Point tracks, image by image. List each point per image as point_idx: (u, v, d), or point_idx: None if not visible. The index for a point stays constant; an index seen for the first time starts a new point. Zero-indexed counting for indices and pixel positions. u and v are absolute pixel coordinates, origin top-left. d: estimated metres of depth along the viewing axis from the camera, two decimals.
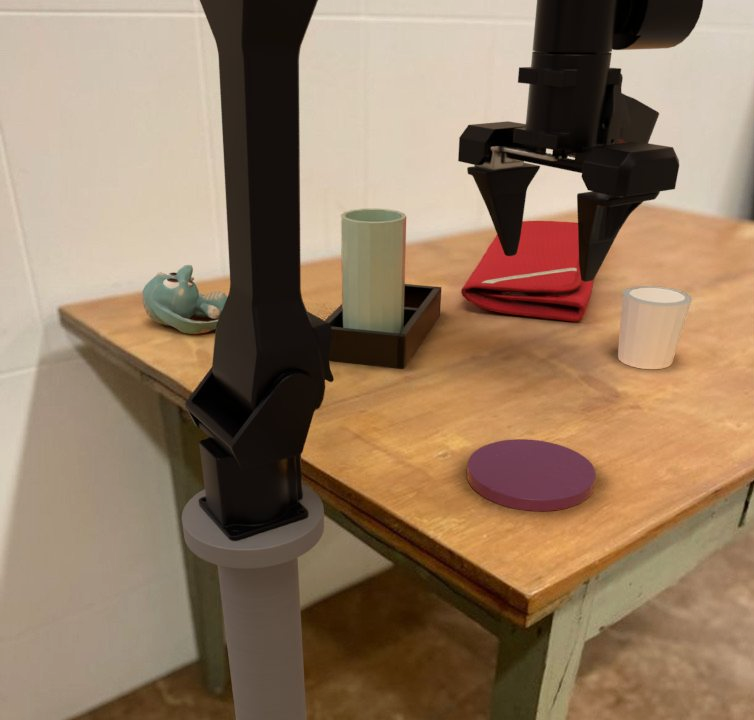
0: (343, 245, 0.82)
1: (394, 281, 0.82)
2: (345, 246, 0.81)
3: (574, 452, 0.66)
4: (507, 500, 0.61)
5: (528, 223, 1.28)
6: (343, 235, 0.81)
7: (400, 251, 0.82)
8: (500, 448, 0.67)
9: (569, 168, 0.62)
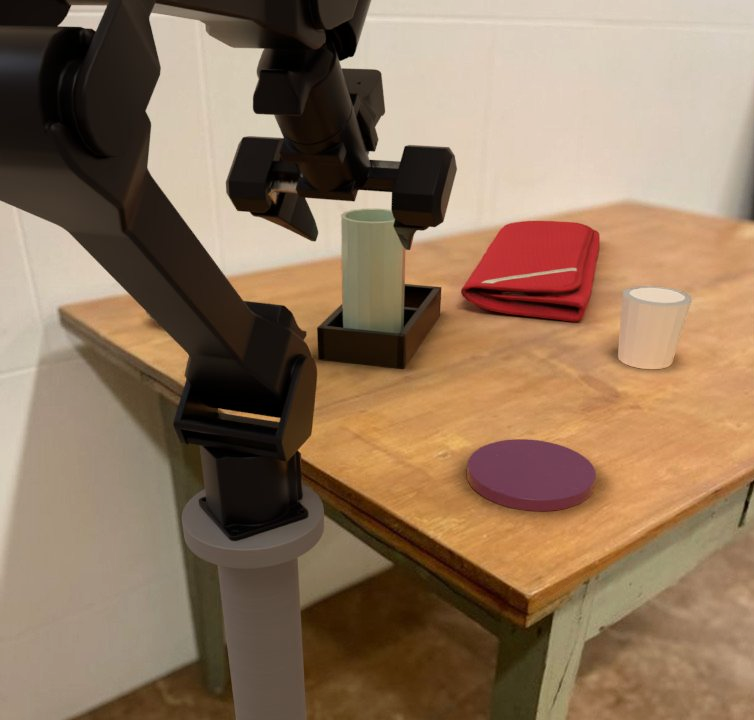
0: (343, 245, 0.82)
1: (394, 281, 0.82)
2: (345, 246, 0.81)
3: (574, 452, 0.66)
4: (507, 500, 0.61)
5: (528, 223, 1.28)
6: (343, 235, 0.81)
7: (400, 251, 0.82)
8: (500, 448, 0.67)
9: None
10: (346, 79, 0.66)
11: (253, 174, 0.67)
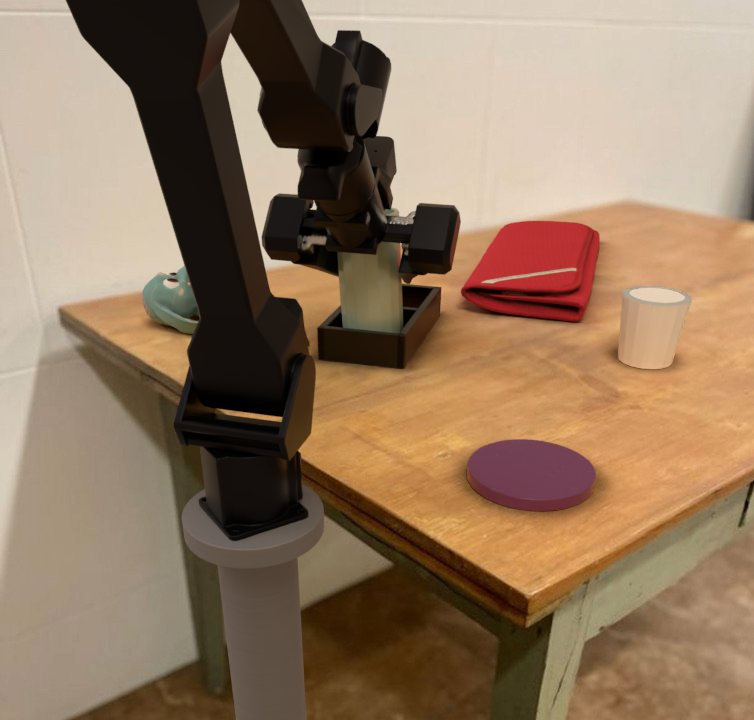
0: None
1: (389, 276, 0.82)
2: None
3: (574, 452, 0.66)
4: (507, 500, 0.61)
5: (528, 223, 1.28)
6: None
7: (394, 246, 0.82)
8: (500, 448, 0.67)
9: None
10: None
11: (286, 230, 0.78)
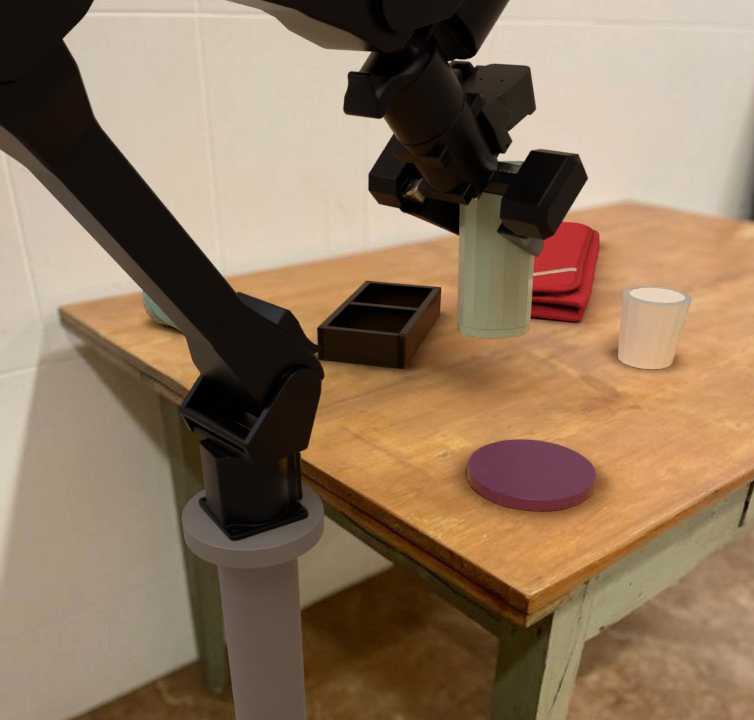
0: None
1: (506, 241, 0.67)
2: None
3: (574, 452, 0.66)
4: (507, 500, 0.61)
5: None
6: None
7: None
8: (500, 448, 0.67)
9: (483, 190, 0.64)
10: (493, 76, 0.63)
11: (390, 169, 0.68)
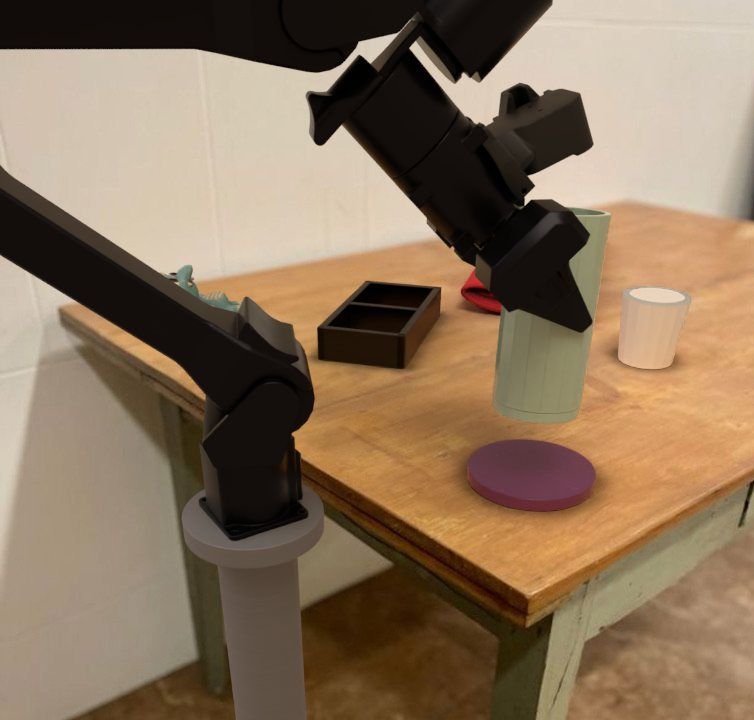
0: None
1: None
2: None
3: (574, 452, 0.66)
4: (507, 500, 0.61)
5: None
6: None
7: None
8: (500, 448, 0.67)
9: None
10: (541, 104, 0.50)
11: None
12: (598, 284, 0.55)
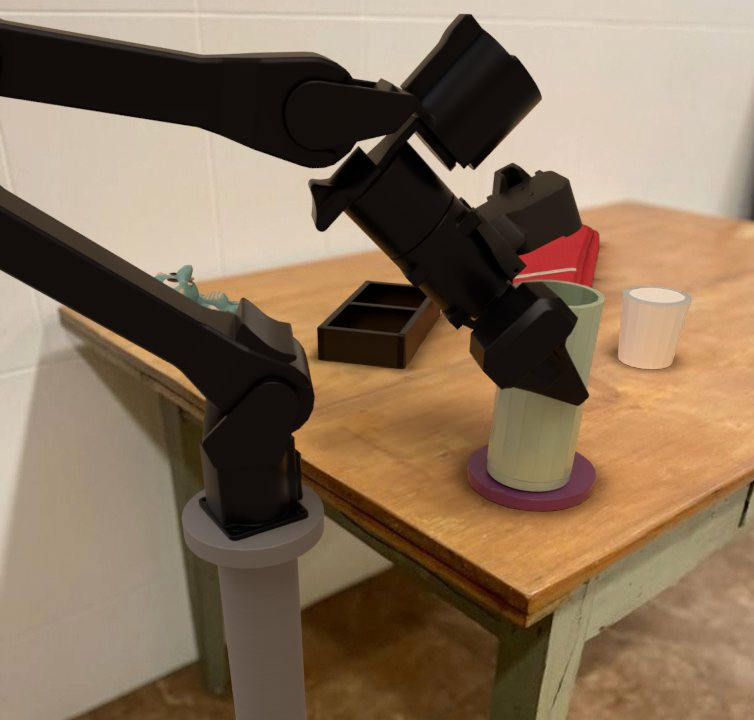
0: None
1: None
2: None
3: None
4: (506, 500, 0.61)
5: None
6: None
7: None
8: None
9: None
10: (532, 187, 0.53)
11: None
12: (590, 363, 0.57)
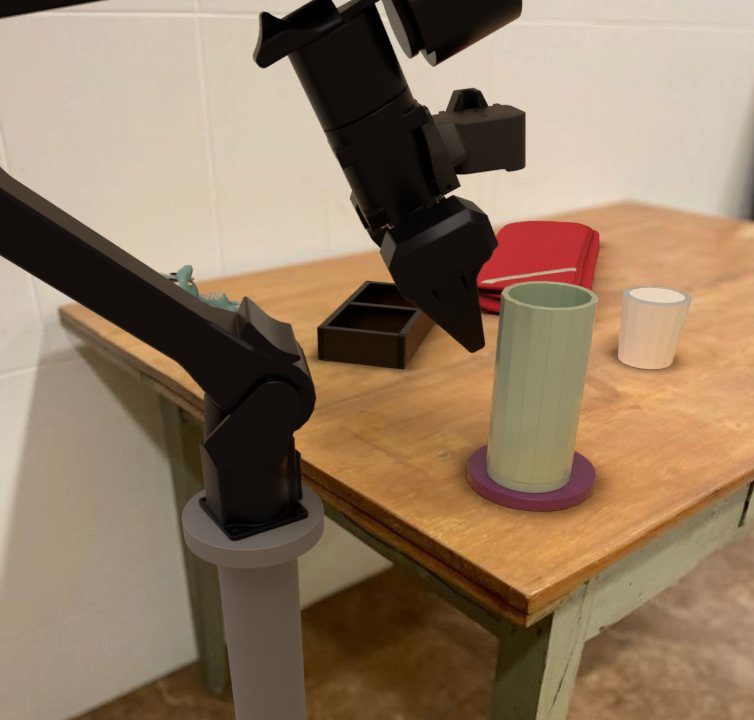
0: None
1: (524, 390, 0.57)
2: None
3: None
4: (506, 500, 0.61)
5: (528, 223, 1.28)
6: None
7: (542, 354, 0.55)
8: None
9: None
10: (487, 111, 0.50)
11: None
12: (586, 364, 0.57)
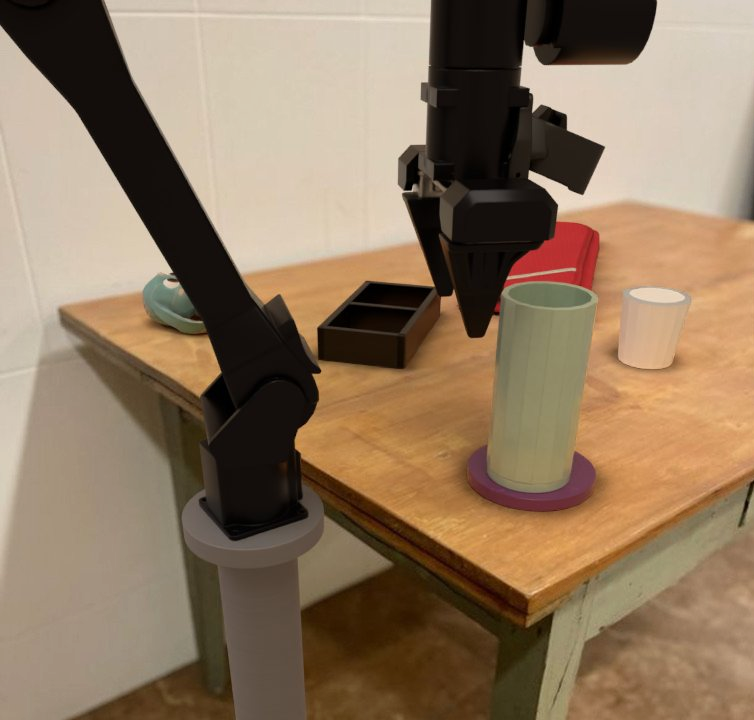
0: None
1: (524, 390, 0.57)
2: None
3: None
4: (506, 500, 0.61)
5: None
6: None
7: (542, 354, 0.55)
8: None
9: None
10: None
11: (426, 148, 0.58)
12: (586, 364, 0.57)
